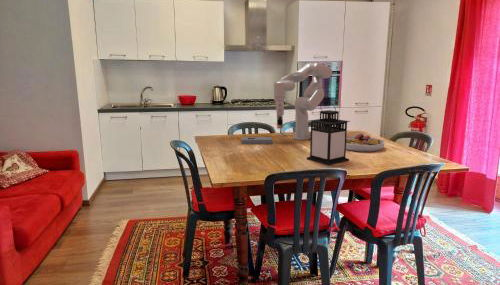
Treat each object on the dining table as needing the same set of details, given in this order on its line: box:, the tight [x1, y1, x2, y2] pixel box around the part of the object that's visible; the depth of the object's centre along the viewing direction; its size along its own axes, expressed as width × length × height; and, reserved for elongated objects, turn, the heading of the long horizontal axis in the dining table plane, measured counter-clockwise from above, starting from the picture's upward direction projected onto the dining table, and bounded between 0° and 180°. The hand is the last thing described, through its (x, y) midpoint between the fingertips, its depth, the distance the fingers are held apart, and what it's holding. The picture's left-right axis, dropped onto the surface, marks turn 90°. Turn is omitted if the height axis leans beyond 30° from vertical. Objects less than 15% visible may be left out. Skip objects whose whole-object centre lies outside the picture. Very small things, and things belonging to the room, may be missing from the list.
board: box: [240, 136, 273, 145], centre depth 266 cm, size 22×11×3 cm, turn 88°
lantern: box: [306, 100, 351, 166], centre depth 212 cm, size 17×17×35 cm
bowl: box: [346, 133, 385, 153], centre depth 247 cm, size 30×30×8 cm
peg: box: [276, 114, 284, 130], centre depth 263 cm, size 4×4×10 cm
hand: (279, 124), depth 264 cm, fingers closed on peg, 4 cm apart
